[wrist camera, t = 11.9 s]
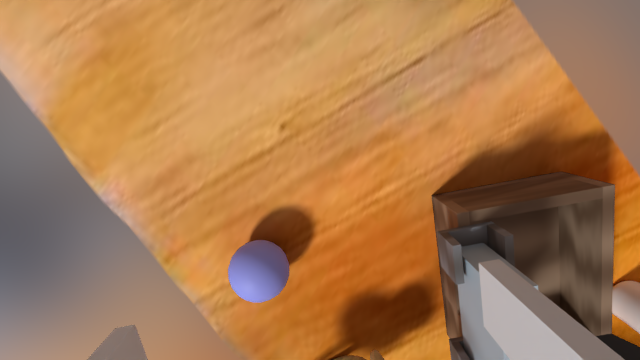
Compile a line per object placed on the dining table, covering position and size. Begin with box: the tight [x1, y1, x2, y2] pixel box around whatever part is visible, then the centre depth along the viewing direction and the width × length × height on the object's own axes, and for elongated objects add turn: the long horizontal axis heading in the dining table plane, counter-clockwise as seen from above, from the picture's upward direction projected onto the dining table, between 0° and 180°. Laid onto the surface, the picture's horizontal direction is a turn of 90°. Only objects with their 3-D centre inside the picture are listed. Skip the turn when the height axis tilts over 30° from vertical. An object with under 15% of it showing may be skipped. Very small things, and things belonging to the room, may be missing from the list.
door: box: [458, 243, 538, 360], centre depth 30 cm, size 14×4×8 cm, turn 11°
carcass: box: [432, 172, 615, 360], centre depth 36 cm, size 20×18×11 cm
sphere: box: [228, 240, 289, 302], centre depth 37 cm, size 7×7×7 cm
